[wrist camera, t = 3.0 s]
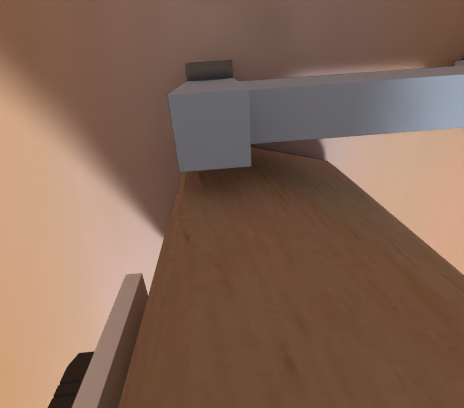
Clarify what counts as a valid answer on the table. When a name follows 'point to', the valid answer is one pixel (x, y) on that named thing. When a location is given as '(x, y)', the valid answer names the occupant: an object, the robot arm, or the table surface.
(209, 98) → the grey i-beam block
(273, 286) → the wooden block
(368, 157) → the table surface
